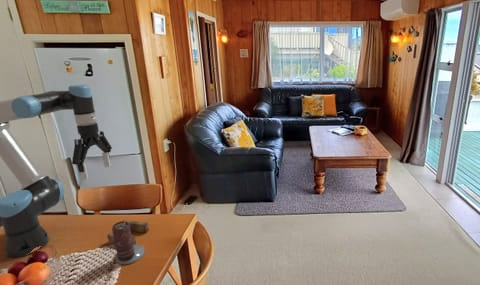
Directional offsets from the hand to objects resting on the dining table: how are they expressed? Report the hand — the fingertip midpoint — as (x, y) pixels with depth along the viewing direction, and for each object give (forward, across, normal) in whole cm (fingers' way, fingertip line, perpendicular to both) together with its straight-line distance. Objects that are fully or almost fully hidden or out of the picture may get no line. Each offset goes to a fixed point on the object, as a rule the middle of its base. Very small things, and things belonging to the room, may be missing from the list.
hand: (97, 172), depth 124 cm
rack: (+29, -2, -12) cm, 31 cm away
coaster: (+29, -13, -20) cm, 37 cm away
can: (+28, -15, -20) cm, 38 cm away
